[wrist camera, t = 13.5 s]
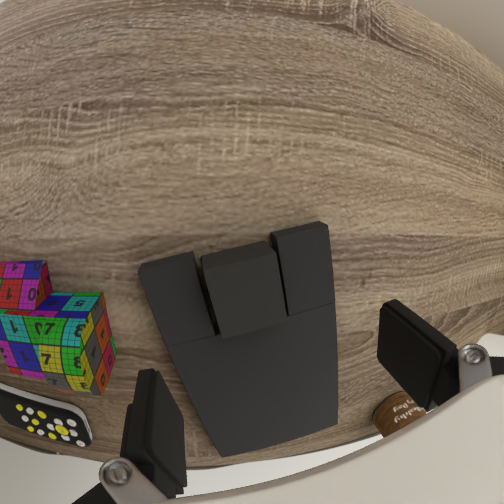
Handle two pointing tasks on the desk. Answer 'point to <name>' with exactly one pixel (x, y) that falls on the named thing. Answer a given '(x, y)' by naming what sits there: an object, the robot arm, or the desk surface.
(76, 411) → the remote control
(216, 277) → the small black box
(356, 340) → the desk surface
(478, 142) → the desk surface
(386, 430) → the utensil holder
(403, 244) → the desk surface
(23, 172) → the desk surface
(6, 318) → the block
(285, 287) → the big pad
